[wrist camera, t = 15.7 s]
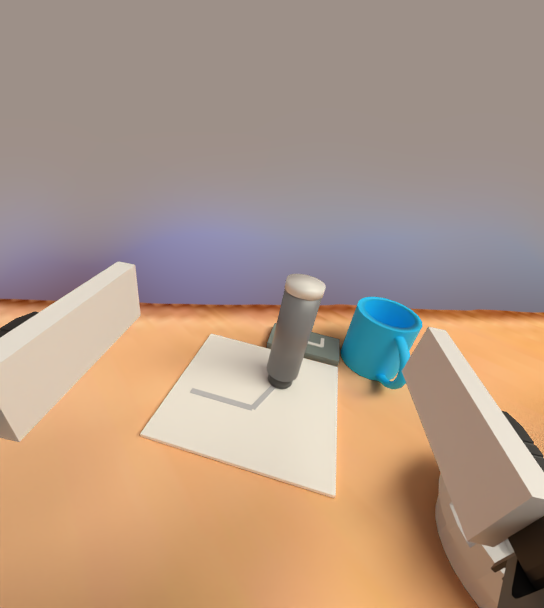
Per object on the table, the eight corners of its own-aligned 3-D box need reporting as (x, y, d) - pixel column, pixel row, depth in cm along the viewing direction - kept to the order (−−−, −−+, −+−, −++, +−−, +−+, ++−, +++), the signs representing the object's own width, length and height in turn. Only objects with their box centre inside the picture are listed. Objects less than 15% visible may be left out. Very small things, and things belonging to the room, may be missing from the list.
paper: (140, 436, 25) (140, 433, 25) (211, 335, 39) (211, 333, 39) (334, 498, 23) (335, 495, 23) (337, 369, 37) (338, 366, 37)
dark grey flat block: (266, 348, 38) (267, 341, 38) (273, 328, 43) (274, 322, 42) (337, 366, 37) (339, 360, 37) (337, 344, 41) (339, 338, 41)
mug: (334, 339, 43) (349, 293, 38) (384, 343, 44) (404, 300, 39) (357, 403, 32) (382, 351, 28) (421, 408, 33) (455, 358, 29)
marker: (260, 386, 32) (283, 284, 26) (268, 365, 35) (290, 270, 29) (293, 396, 31) (324, 294, 25) (297, 373, 35) (326, 280, 29)
